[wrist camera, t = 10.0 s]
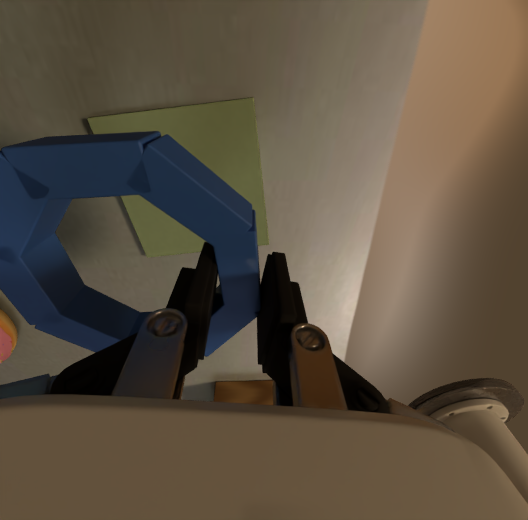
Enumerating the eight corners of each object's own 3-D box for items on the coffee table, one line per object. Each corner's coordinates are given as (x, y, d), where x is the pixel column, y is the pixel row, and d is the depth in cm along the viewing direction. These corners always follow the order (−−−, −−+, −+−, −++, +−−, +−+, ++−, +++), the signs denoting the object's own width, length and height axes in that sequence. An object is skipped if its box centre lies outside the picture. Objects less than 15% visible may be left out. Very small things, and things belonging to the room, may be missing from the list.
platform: (295, 379, 35) (300, 409, 32) (290, 417, 41) (293, 446, 38) (215, 381, 35) (212, 412, 31) (222, 419, 41) (219, 449, 38)
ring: (303, 247, 12) (312, 272, 10) (182, 352, 16) (174, 384, 14) (75, 56, 8) (26, 47, 6) (-10, 264, 12) (-53, 294, 10)
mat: (269, 241, 23) (269, 244, 22) (148, 254, 23) (146, 257, 23) (253, 97, 17) (253, 97, 16) (90, 117, 17) (86, 118, 17)
